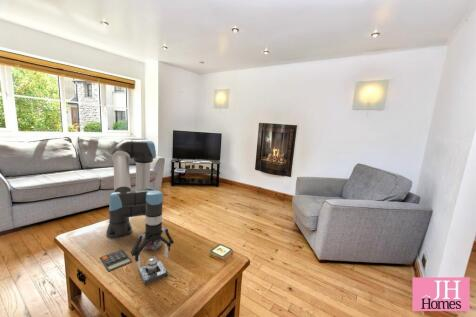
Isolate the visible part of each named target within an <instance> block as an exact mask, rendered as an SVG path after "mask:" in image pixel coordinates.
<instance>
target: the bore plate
mask: <svg viewBox="0 0 476 317" xmlns="http://www.w3.org/2000/svg"><path fill="white" fill-rule="evenodd" d="M137 269H138V270H137V271H138V274H139V276H140V277H141V280H142V282H143V284H144V285H147V284H150V283H152V282H155V281H157V280H160V279H162V278H164V277H167V276H168V270H167V268H166V267H165V265H164V264H163V263H162V261H161V260H157V273H155V274H152V275H149V276H148V264H145V265H142V266H140V268H138V267H137Z"/></svg>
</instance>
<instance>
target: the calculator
mask: <svg viewBox="0 0 476 317" xmlns="http://www.w3.org/2000/svg"><path fill="white" fill-rule="evenodd" d="M99 260H100V261H101V263H102V264H103V265H104V267H105V269H106V270H107V272H112V271H114V270H116V269H119V268H121V267H123V266H126V265H128V264H131V263H133V260H132V259H131V257H130V256H129V255H128V254H127V252H125V250H123V248H122V249H119V250H116V251H114V252H111V253H108V254H106V255H101V256H100V257H99Z"/></svg>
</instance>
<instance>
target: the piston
mask: <svg viewBox="0 0 476 317" xmlns="http://www.w3.org/2000/svg"><path fill="white" fill-rule="evenodd" d="M157 261H158V257H157V256H149V257H148V258H147V264H146V265H148V271H147V274H148V276H149V275H152V274H155V273H157V272H158V268H157Z"/></svg>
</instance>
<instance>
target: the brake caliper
mask: <svg viewBox="0 0 476 317" xmlns="http://www.w3.org/2000/svg"><path fill="white" fill-rule="evenodd" d="M145 238H146V237H144V239H145ZM147 240H148V239H147ZM162 245H163V241H162V240H160V239H159V238H158V239H157V240H154V241H150V242H149V243H148V244H147V245H146V246H145V247H144V248H146V249H147V250H151V251H157V250H158V249H159V248H161V247H162Z"/></svg>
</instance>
